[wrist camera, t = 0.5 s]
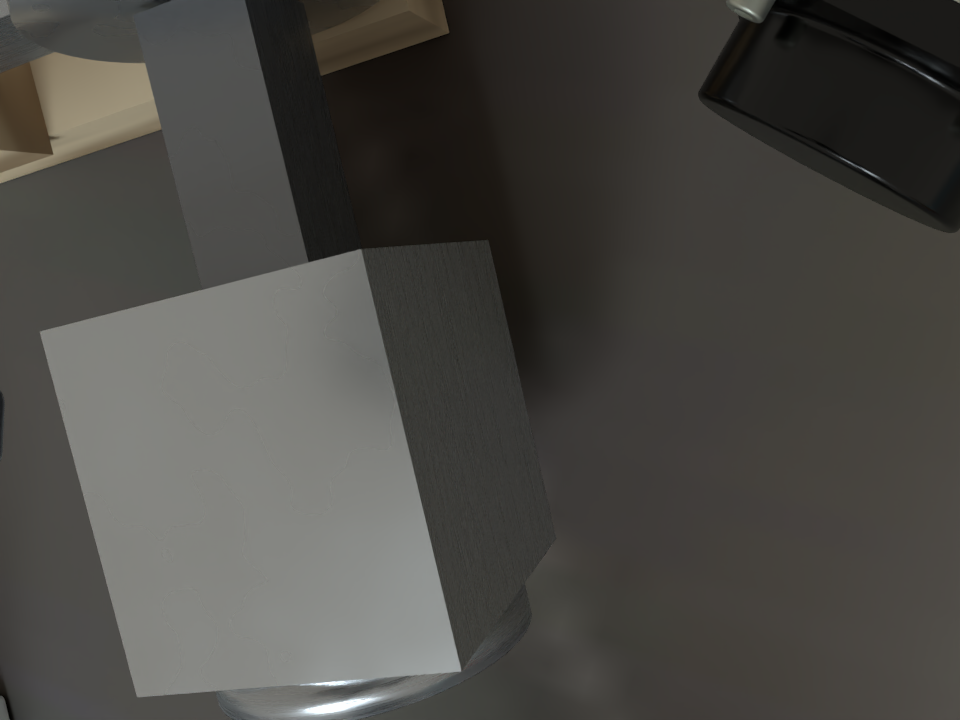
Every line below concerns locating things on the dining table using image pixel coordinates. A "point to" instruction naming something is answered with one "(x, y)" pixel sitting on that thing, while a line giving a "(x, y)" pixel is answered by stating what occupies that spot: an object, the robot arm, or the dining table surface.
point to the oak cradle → (128, 95)
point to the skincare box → (3, 709)
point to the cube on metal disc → (311, 481)
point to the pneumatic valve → (852, 95)
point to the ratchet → (222, 115)
